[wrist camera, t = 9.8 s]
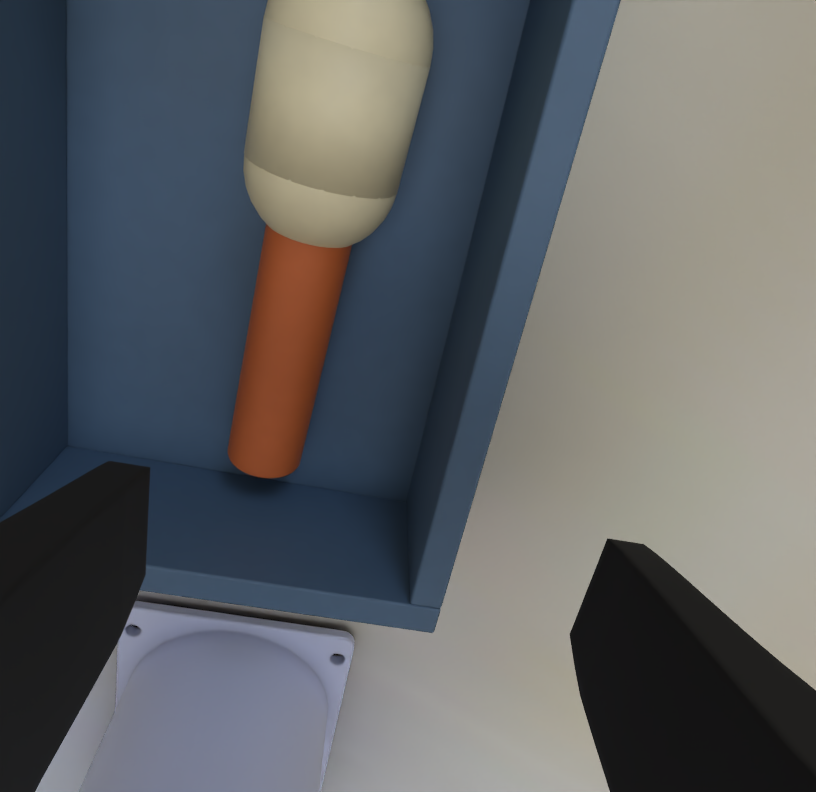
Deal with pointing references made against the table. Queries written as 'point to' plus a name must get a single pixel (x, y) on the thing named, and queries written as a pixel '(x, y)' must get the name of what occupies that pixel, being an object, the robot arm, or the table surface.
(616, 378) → the table surface
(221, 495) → the wash tub
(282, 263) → the bottle brush
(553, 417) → the table surface
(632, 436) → the table surface
